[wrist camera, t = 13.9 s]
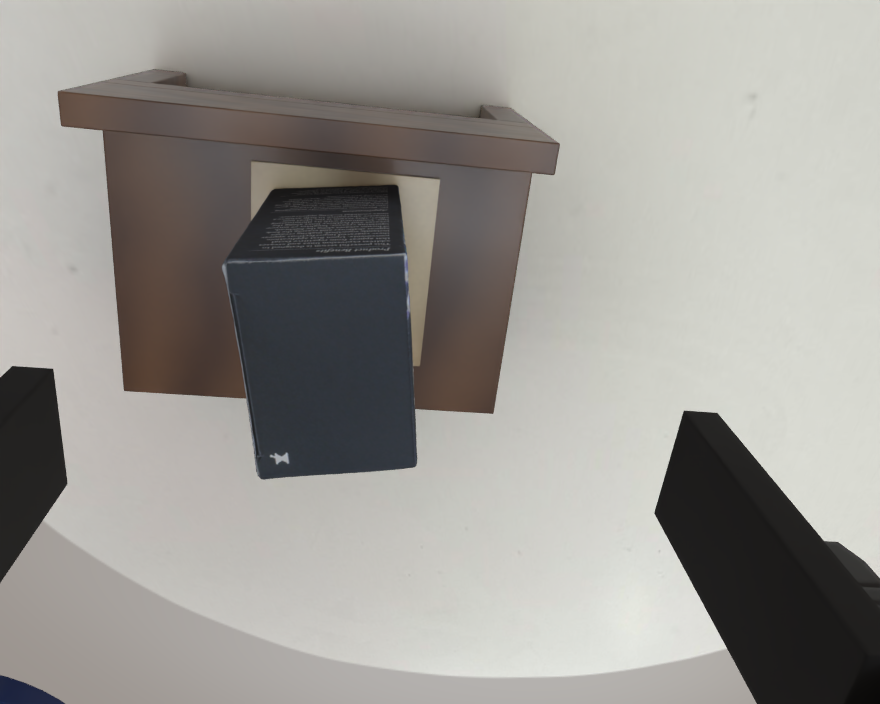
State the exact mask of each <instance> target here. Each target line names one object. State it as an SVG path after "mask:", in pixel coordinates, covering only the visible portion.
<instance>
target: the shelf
mask: <svg viewBox="0 0 880 704" xmlns="http://www.w3.org/2000/svg"><path fill="white" fill-rule="evenodd" d="M58 100H59V110H60V120H61V126H64V127H74V128H84V129H94V130H103V139H104V151H105V164H106V176H107V188H108V201H109V213H110V225H111V237H112V250H113V262H114V274H115V287H116V299H117V311H118V323H119V336H120V348H121V360H122V373H123V385H124V391H133V392H149V393H166V394H182V395H198V396H214V397H230V398H246V393H245V387H244V380H243V373H242V366H241V361H240V355H239V350H238V345H237V339H236V334H235V328H234V320H233V315H232V310H231V305H230V300H229V295H228V290H227V285H226V281H225V277H224V274H223V271H222V264H223V262H224V260H225V259H226V257H227V256H228V255H229V253H230V252H231V250H232V249H233V247H234V245H235V244H236V243H237V241H238V240H239V238H240V237H241V235H242V234H243V233H244V231H245V230H246V228H247V226H248V225H249V223H250V222H251V220H252V219H253V218H254V216H255V215H256V213H257V212H258V210H259V209H260V207H261V205H262V204H263V202H264V201H265V199H266V198H267V196H268V195H269V193H270V192H271V191H272V190H274V189H283V188H317V187H346V186H381V185H397V186H398V187H399V195H400V202H401V211H402V220H403V228H404V236H405V244H406V251H407V258H408V280H409V296H410V313H411V330H412V352H413V371H414V396H415V409H425V410H441V411H457V412H473V413H490V414H493V412H494V407H495V400H496V394H497V388H498V382H499V376H500V369H501V363H502V357H503V351H504V344H505V338H506V332H507V326H508V320H509V313H510V307H511V301H512V295H513V289H514V282H515V276H516V270H517V264H518V257H519V251H520V245H521V239H522V233H523V226H524V220H525V214H526V208H527V202H528V195H529V189H530V183H531V177H532V173H537V174H547V175H554V174H555V169H556V164H557V158H558V152H559V146H560V144H559V143H558V142H557V141H555V140H554V139H552V138H551V137H550V136H548V135H547V134H546V133H544V132H543V131H541V130H540V129H538V128H537V127H536V126H534V125H533V124H532V123H530V122H529V121H528V120H526V119H525V118H524V117H522V116H521V115H519V114H518V113H517V112H515V111H514V110H513V109H511V108H504V107H495V106H486V105H482V106H481V111H480V118H473V117H464V116H455V115H445V114H436V113H427V112H417V111H408V110H399V109H389V108H380V107H370V106H361V105H352V104H342V103H333V102H324V101H314V100H305V99H296V98H286V97H277V96H268V95H258V94H249V93H240V92H230V91H221V90H212V89H202V88H193V87H186V73H183V72H174V71H165V70H156V69H153V70H149V71H145V72H140V73H136V74H131V75H127V76H123V77H118V78H114V79H110V80H105V81H101V82H96V83H92V84H87V85H83V86H79V87H74V88H70V89H65V90H61V91H58Z"/></svg>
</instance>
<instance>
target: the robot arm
mask: <svg viewBox="0 0 880 704" xmlns="http://www.w3.org/2000/svg"><path fill="white" fill-rule="evenodd" d="M66 485H67V476H66V468H65V460H64V452H63V444H62V436H61V428H60V420H59V412H58V404H57V396H56V388H55V380H54V372H53V369H47V368H32V367H17V366H12V367H11V368H10V369H9V370H8V371H7V372H6V373H5V374H4V375H3V376H2V377H0V582H1V581H2V579H3V578H4V576H5V575H6V573H7V572H8V570H9V569H10V568H11V566H12V565H13V563H14V562H15V560H16V559H17V557H18V556H19V554H20V553H21V551H22V550H23V548H24V547H25V546H26V544H27V542H28V541H29V540H30V538H31V537H32V535H33V534H34V532H35V531H36V529H37V528H38V526H39V525H40V523H41V522H42V521H43V519H44V518H45V516H46V515H47V513H48V512H49V510H50V509H51V507H52V506H53V504H54V503H55V501H56V500H57V498H58V497H59V496H60V494H61V493H62V491H63V490H64V488H65V487H66ZM655 515H656V517H657V519H658V521H659V523H660V525H661V526H662V528H663V530H664V532H665V534H666V536H667V538H668V539H669V541H670V543H671V545H672V547H673V549H674V551H675V552H676V554H677V556H678V558H679V560H680V562H681V564H682V565H683V567H684V569H685V571H686V573H687V575H688V577H689V578H690V580H691V582H692V584H693V586H694V588H695V590H696V591H697V593H698V595H699V597H700V599H701V601H702V603H703V604H704V606H705V608H706V610H707V612H708V614H709V616H710V617H711V619H712V621H713V623H714V625H715V627H716V629H717V630H718V632H719V634H720V636H721V638H722V640H723V642H724V643H725V645H726V647H727V649H728V651H729V653H730V654H731V656H732V658H733V660H734V662H735V663H736V666H737V667H738V669H739V671H740V673H741V675H742V677H743V679H744V681H745V682H746V684H747V686H748V688H749V690H750V692H751V693H752V695H753V697H754V699H755V701H756V703H757V704H880V578H879V577H878V576H877V575H876V574H875V573H874V571H873V570H872V569H871V568H870V567H869V566H868V565H867V563H866V562H865V561H863V560H862V559H861V558H859V557H858V556H856V555H855V554H854V553H852V552H851V551H849V550H848V549H847V548H845V547H844V546H843V545H841V544H840V543H838V542H827V541H823V540H822V538H821V537H820V536H819V535H818V533H817V532H816V531H815V530H814V529H813V527H812V526H811V525H810V524H809V523H808V521H807V520H806V519H805V518H804V517H803V515H802V514H801V513H800V512H799V511H798V509H797V508H796V507H795V506H794V505H793V503H792V502H791V501H790V500H789V499H788V497H787V496H786V495H785V494H784V493H783V491H782V490H781V489H780V488H779V487H778V485H777V484H776V483H775V482H774V481H773V479H772V478H771V477H770V476H769V475H768V473H767V472H766V471H765V470H764V469H763V467H762V466H761V465H760V464H759V463H758V461H757V460H756V459H755V458H754V457H753V455H752V454H751V453H750V452H749V451H748V449H747V448H746V447H745V446H744V445H743V443H742V442H741V441H740V440H739V439H738V437H737V436H736V435H735V434H734V433H733V431H732V430H731V429H730V428H729V427H728V425H727V424H726V423H725V422H724V421H723V419H722V418H721V417H720V416H719V414H718V413H710V412H695V411H684V412H683V416H682V419H681V423H680V426H679V430H678V433H677V437H676V440H675V443H674V447H673V450H672V454H671V457H670V461H669V464H668V468H667V471H666V475H665V478H664V482H663V485H662V488H661V492H660V495H659V499H658V502H657V506H656V509H655Z"/></svg>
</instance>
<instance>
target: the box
mask: <svg viewBox="0 0 880 704" xmlns="http://www.w3.org/2000/svg"><path fill="white" fill-rule="evenodd" d="M222 271H223V274H224V277H225V281H226V285H227V290H228V295H229V300H230V305H231V310H232V315H233V320H234V328H235V334H236V339H237V345H238V350H239V355H240V361H241V366H242V373H243V380H244V387H245V393H246V399H247V405H248V411H249V418H250V426H251V432H252V439H253V447H254V454H255V464H256V472H257V474H258V476H259V477H260V478H261V479H273V478H282V477H296V476H309V475H326V474H343V473H358V472H373V471H384V470H395V469H404V468H413V467H415V466H416V464H417V449H416V419H415V396H414V371H413V352H412V330H411V313H410V296H409V280H408V258H407V251H406V244H405V236H404V228H403V220H402V211H401V202H400V195H399V187H398V186H397V185H381V186H346V187H317V188H283V189H274V190H272V191H271V192H270V193H269V195H268V196H267V198H266V199H265V201H264V202H263V204H262V205H261V207H260V209H259V210H258V212H257V213H256V215H255V216H254V218H253V219H252V220H251V222H250V223H249V225H248V226H247V228H246V230H245V231H244V233H243V234H242V235H241V237H240V238H239V240H238V241H237V243H236V244H235V245H234V247H233V249H232V250H231V252H230V253H229V255H228V256H227V257H226V259H225V260H224V262H223V264H222Z"/></svg>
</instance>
